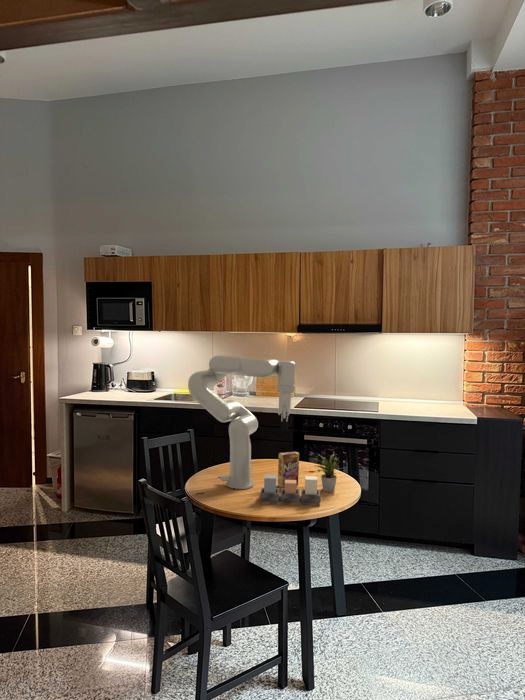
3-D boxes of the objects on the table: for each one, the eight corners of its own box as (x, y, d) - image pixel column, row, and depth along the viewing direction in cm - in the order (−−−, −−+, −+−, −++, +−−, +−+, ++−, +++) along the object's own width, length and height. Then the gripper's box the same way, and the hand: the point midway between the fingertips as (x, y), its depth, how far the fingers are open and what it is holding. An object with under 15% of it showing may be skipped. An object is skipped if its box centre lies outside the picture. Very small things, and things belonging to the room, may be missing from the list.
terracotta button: (284, 499, 207) (284, 483, 207) (284, 496, 212) (284, 479, 212) (296, 500, 207) (296, 483, 207) (295, 496, 212) (296, 480, 211)
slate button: (264, 494, 208) (264, 478, 207) (264, 491, 212) (264, 474, 212) (275, 495, 207) (275, 478, 207) (275, 491, 212) (276, 475, 212)
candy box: (281, 488, 227) (282, 454, 226) (277, 485, 231) (277, 452, 230) (298, 485, 230) (299, 453, 230) (294, 483, 234) (294, 450, 234)
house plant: (316, 482, 235) (316, 448, 235) (345, 486, 231) (346, 450, 231) (309, 491, 222) (310, 455, 221) (340, 495, 218) (341, 458, 217)
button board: (260, 504, 205) (260, 494, 205) (261, 496, 215) (261, 486, 215) (320, 506, 204) (320, 496, 204) (319, 498, 214) (319, 488, 214)
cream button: (305, 496, 207) (305, 479, 206) (304, 492, 211) (305, 476, 211) (316, 496, 206) (317, 479, 206) (316, 492, 211) (316, 476, 211)
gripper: (278, 386, 228) (276, 426, 229) (276, 390, 213) (274, 433, 214) (294, 387, 227) (293, 427, 228) (293, 391, 213) (292, 434, 213)
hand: (284, 430), depth 221 cm, fingers closed
